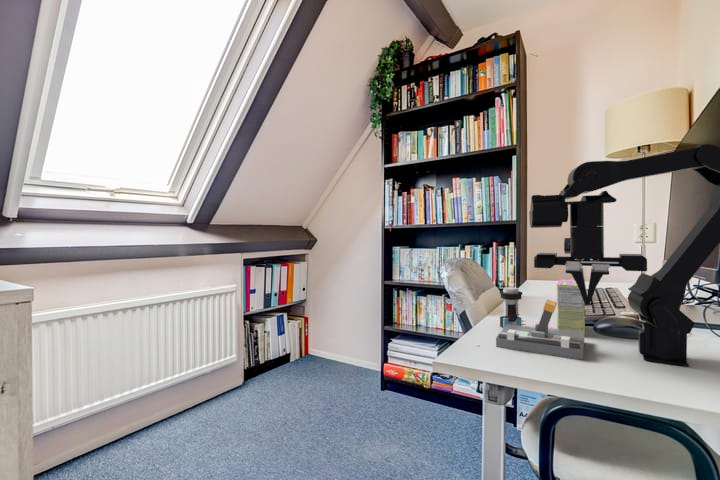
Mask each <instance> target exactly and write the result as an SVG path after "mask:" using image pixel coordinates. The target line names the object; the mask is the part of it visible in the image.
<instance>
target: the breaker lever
mask: <svg viewBox="0 0 720 480" xmlns="http://www.w3.org/2000/svg"><path fill="white" fill-rule="evenodd" d="M556 307H557V301H553V300H550V299H546V301H545V303H544V305H543V308H542V314H541V317H540V320H539V322H538V324H539V325H538V328H537V331H541V332H546V330H547V327H548V328H549V323H550V321H551V319H552V316H553V314H554V313H555V310H556Z"/></svg>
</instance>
